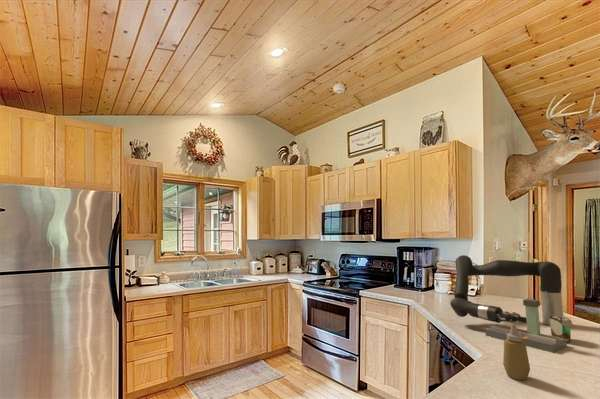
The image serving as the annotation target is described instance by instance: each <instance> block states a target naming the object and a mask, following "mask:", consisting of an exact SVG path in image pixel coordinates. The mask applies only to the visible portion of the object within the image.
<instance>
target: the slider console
mask: <svg viewBox="0 0 600 399" xmlns="http://www.w3.org/2000/svg"><path fill="white" fill-rule="evenodd" d="M516 328H517V327H516ZM510 330H511V326H508V325H503V324H500V323H496V324H495V325H492V324H491V326H490V327H489V328H486V329H485V336H486V337H489V336H490V338H493V337H494V339H498V340H503V341H505V340H506V339H507V334H508V333H510ZM517 332H518V334H519V335H521V336H522V341H523V342H524V343H525V344H526V347H530V348H533V349H537V350H541V351H544V352H545V351H546V352H548V353H552V354H553V353H555V352H557V351H559V350H562V349H564V348H566V347H567V346H568V345H567V344H568V343H567V342H566V339H564V338H559V337H555V336H552V335H549V334H544V333H541V332H540V336H538V335H533V334H529V333H527V329H522V328H517Z"/></svg>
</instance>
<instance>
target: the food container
mask: <svg viewBox="0 0 600 399" xmlns="http://www.w3.org/2000/svg"><path fill="white" fill-rule="evenodd" d="M549 320H550V325H549V327H550V334H551V335H550V336H555V337H559V338H564V339H566V342H567V344H569V343H571V342H572V341H571V340H572V339H571V335H572V333H571V330H572V329H571V327H572V325H573V321H572V320H571V318H570V317H566V316H564V315H563V316H558V315H549Z"/></svg>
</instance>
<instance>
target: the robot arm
mask: <svg viewBox="0 0 600 399" xmlns="http://www.w3.org/2000/svg"><path fill="white" fill-rule="evenodd" d="M455 270H456V279H455V284H454V293H453V296H454V298H452V299H451V300H450V308H452V310H453V311H454V313H455V314H456V315H457V316H458V317H461V318H465V317H466V316H468V315H469V316H470V317H473V318H476V319H480V320H484V321H490V322H492V323H496V324H500V323H501V322H506V323H518V322H519V323H525V324H527V321H526V316H521V315H520V314H519V313H517V312H514V311H513V312H509V311H503V309H502V308H501V307H500V306H496V305H491V304H481V303H476V302H475V303H474V302H472V301H470V300H469V298H468V297H469V276H470V277H471V276H493V277H494V276H498V277H522V276H534V277H539V278H540V279H539V280H540V285H539V289H540V300H541V302H540V304H541V312H542V313H541V314H542V323H543V324H544V325H548V326H550V320H549V315H558V316H564V306H563V297H562V296H563V294H562V285H563V284H562V272H561V269H560V266H558V265H557V264H556V263H554V262H552V261H533V262H532V261H530V262H529V261H528V262H527V261H520V260H507V259H506V260H504V259H497V260H493V261H490V262H488V263H485V264H480V265H479V264H478V265H477V264H476V265H474V264H473V261H472V259H471V257H470V256H468V255H459V256H458V257H457V258H456V259H455Z"/></svg>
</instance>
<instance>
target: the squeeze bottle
mask: <svg viewBox="0 0 600 399" xmlns="http://www.w3.org/2000/svg"><path fill="white" fill-rule="evenodd" d="M510 327H511V330H510V333H508V334H507V339H506V340H503V359H502V361H503V364H502V365H503V367H504V370H505V372H506V373H505V374H506V375H507V377H509V378H511V379H514V380H516V381H517V380H518V381H526V380H528V377H529V375H530V371H531V366H530V361H529V355H528V351H527V346H526V344H525V343H524V342H523V341H522V336H521V335H519V334H518V332H517V326H516V324H515V323H511V326H510Z"/></svg>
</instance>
